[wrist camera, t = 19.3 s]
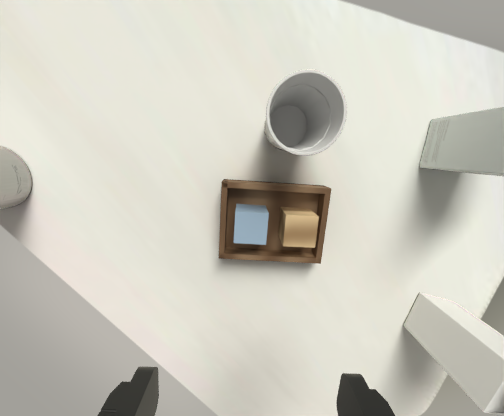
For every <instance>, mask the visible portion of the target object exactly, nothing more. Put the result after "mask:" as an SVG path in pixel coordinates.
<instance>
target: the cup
mask: <svg viewBox="0 0 504 416" xmlns="http://www.w3.org/2000/svg"><path fill="white" fill-rule="evenodd" d="M346 116H347V105H346V100H345V96H344V93H343V91H342V89H341V88H340V86H339V85H338V83H337V82H336V81H335V80H334V79H333V78H332V77H330V76H329V75H327V74H326V73H324V72H321V71H318V70H313V69H304V70H299V71H295V72H293V73H291V74H289V75H287V76H286V77H284V78H283V79H282V80H281V81H280V82H279V83H278V84H277V85H276V86H275V88H274V89H273V91H272V93H271V95H270V97H269V100H268V103H267V108H266V121H265V134H266V137H267V139H268V141H269V142H270V143H271V144H272V145H273V146H275V147H276V148H279V149H283V150H285V151H287V152H289V153H292V154H295V155H301V156H308V155H314V154H317V153H320V152H322V151H324V150H326V149H327V148H328V147H330V146H331V145H332V144H333V143H334V142H335V141H336V140H337V138H338V137H339V136H340V134H341V132H342V130H343V128H344V125H345V121H346Z"/></svg>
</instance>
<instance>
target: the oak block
mask: <svg viewBox="0 0 504 416" xmlns="http://www.w3.org/2000/svg"><path fill="white" fill-rule="evenodd" d="M318 220H319V216H318V215H316V214H315V213H314V212H313V211H312V210H310V209H309V208H291V207H281V208H280V219H279V230H278V235H279V238H280V240H281V243H282V245H283V246H288V247H309V248H315V244H316V236H317V228H318Z"/></svg>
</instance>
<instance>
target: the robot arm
mask: <svg viewBox="0 0 504 416" xmlns="http://www.w3.org/2000/svg"><path fill="white" fill-rule="evenodd" d="M31 186H32V180H31V175H30V172H29V170H28V167H27V166H26V164H25V163H24V161H23V160H22V159H21V158H20V157H19V156H18V155H17V154H15V153H14V152H13V151H11V150H9V149H7V148H5V147H2V146H0V209H4V208H8V207H13V206H16V205H18V204H20V203H22V202H23V201H24V200H25V199H26V198H27V197H28V195H29V193H30V191H31ZM158 392H159V391H158V368H157V367H138V369H137V370H136V372H135V374H134V376H133V378H132V380H131V382H121V383H120V385H118V386H117V387H116V388H115V389H114V390H113V391H112V392H111V393H110V395H109V397H108V398H107V400H106V402H105V404H104V406H103V407H102V409H101V412H99V414H98V416H154V415H155V412H156V409H157V404H158V396H159V393H158ZM337 411H338V416H395V415H394V413H393V411H392V409H391V408H390V406H389V404H388V402H387V401H386V400H385V399H384V398H383V397H382V396H381V395H380V394H379V393H378V392H377V391H376V390H375V389H369V387H368V385H367V384H366V382H365V380H364V378H363V377H362V375H361V374H344V373H343V374H342V375H341V380H340V385H339V391H338V396H337Z"/></svg>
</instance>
